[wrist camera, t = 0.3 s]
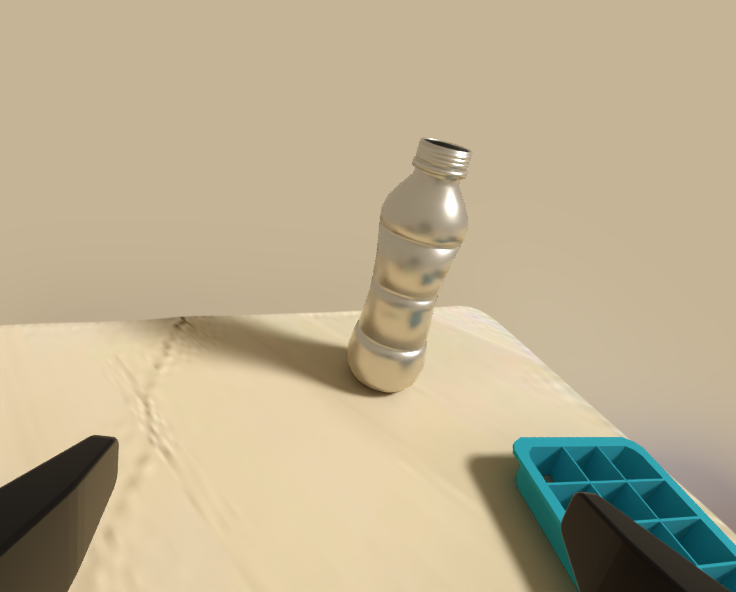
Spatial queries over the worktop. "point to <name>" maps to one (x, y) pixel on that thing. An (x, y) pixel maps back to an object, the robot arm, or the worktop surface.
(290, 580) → the worktop surface
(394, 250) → the plastic bottle
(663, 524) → the ice cube tray
